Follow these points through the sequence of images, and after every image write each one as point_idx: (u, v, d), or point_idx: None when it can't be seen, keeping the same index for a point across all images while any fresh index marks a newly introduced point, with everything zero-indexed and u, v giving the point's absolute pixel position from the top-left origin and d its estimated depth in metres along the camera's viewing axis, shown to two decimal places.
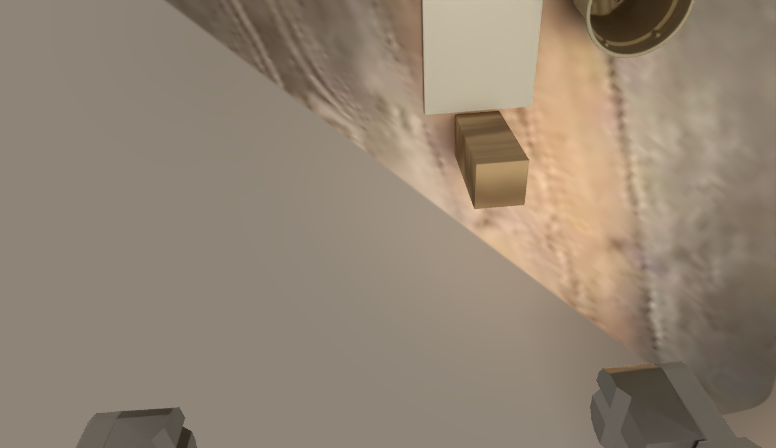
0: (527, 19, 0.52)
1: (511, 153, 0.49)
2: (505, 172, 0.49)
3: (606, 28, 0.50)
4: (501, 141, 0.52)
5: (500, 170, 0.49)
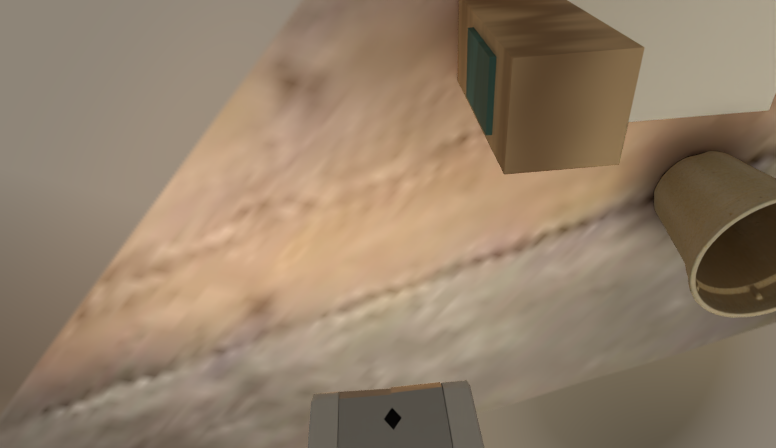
0: (690, 97, 0.33)
1: None
2: (603, 119, 0.21)
3: None
4: None
5: (611, 108, 0.21)
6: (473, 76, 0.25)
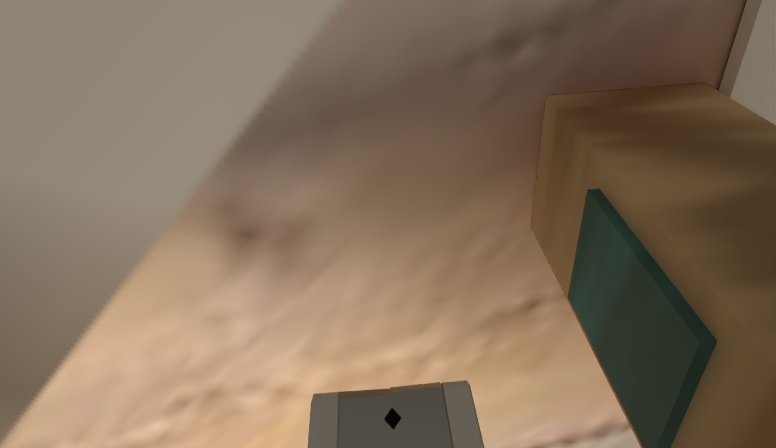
0: None
1: None
2: None
3: None
4: None
5: None
6: (603, 296, 0.12)
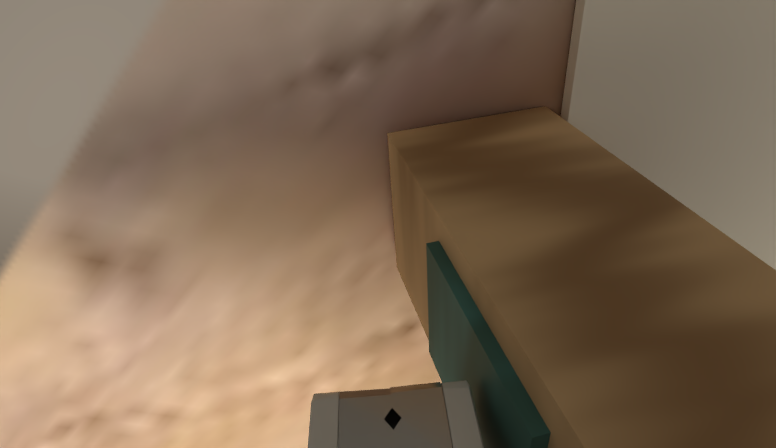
0: None
1: None
2: None
3: None
4: None
5: None
6: (454, 360, 0.11)
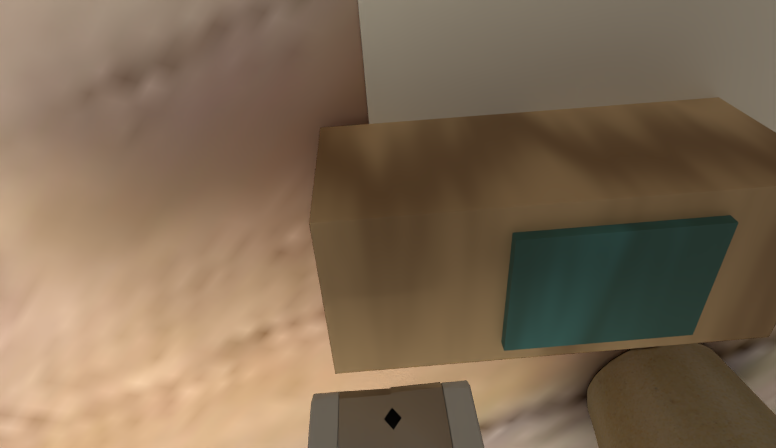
0: None
1: None
2: None
3: None
4: None
5: None
6: (583, 297, 0.12)
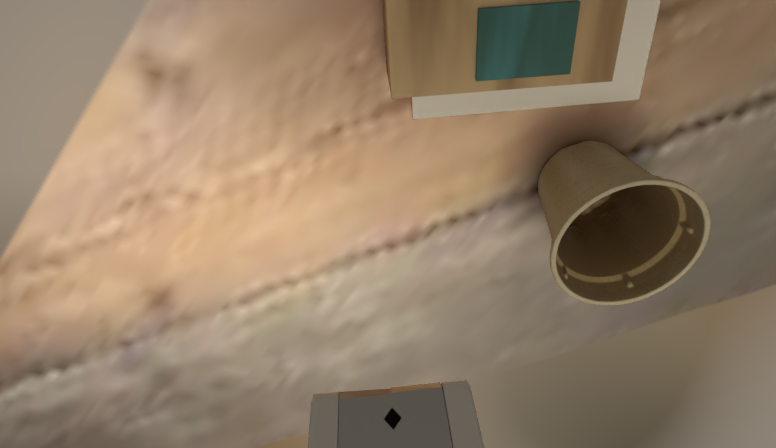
0: (557, 87, 0.33)
1: None
2: None
3: None
4: None
5: None
6: (513, 45, 0.26)
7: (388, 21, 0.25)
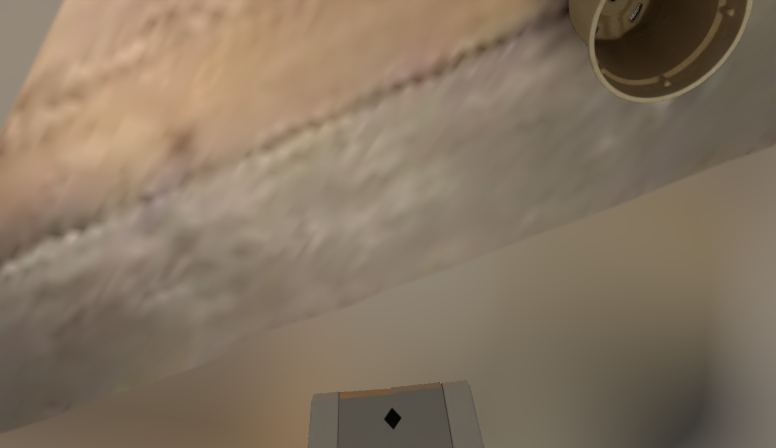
0: None
1: None
2: None
3: None
4: None
5: None
6: None
7: None
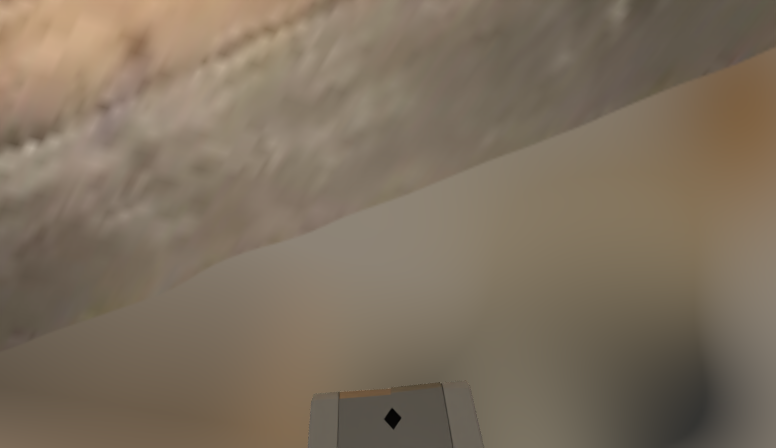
0: None
1: None
2: None
3: None
4: None
5: None
6: None
7: None
